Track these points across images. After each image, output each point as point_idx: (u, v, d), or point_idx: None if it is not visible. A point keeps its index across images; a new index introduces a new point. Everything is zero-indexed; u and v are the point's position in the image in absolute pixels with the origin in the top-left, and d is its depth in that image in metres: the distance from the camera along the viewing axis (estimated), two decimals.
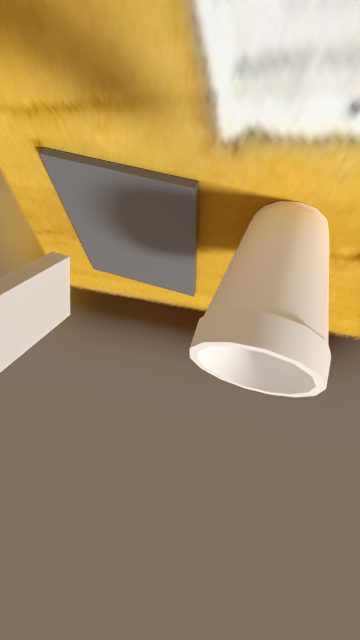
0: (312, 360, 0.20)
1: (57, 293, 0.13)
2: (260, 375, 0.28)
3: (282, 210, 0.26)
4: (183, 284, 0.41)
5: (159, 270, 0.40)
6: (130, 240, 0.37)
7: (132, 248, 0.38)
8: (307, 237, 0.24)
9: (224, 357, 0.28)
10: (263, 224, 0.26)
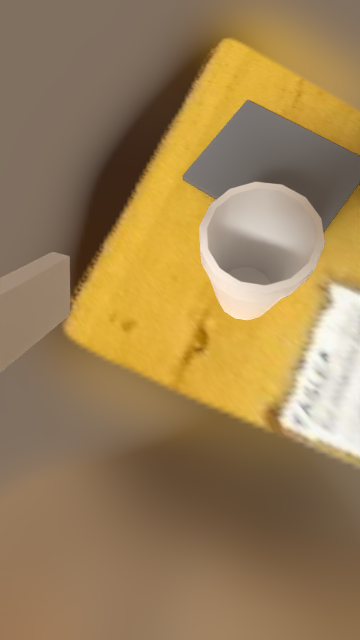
0: (279, 292, 0.25)
1: (57, 293, 0.13)
2: (212, 226, 0.28)
3: None
4: (204, 177, 0.42)
5: (229, 166, 0.42)
6: (274, 167, 0.42)
7: (264, 161, 0.42)
8: None
9: (240, 204, 0.29)
10: None
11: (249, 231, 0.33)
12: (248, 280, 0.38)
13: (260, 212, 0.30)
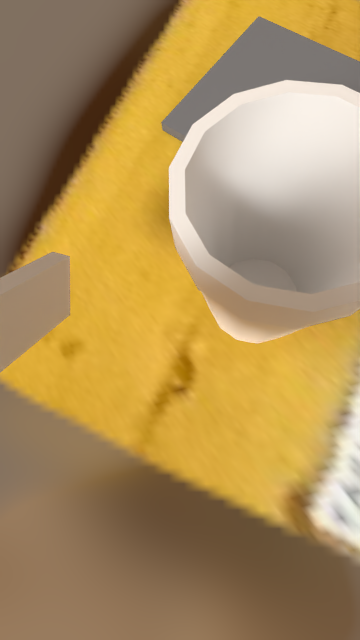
0: (340, 308, 0.11)
1: (57, 293, 0.13)
2: (198, 172, 0.14)
3: None
4: None
5: None
6: None
7: None
8: None
9: (254, 133, 0.15)
10: None
11: (266, 195, 0.19)
12: (259, 280, 0.24)
13: (290, 153, 0.16)
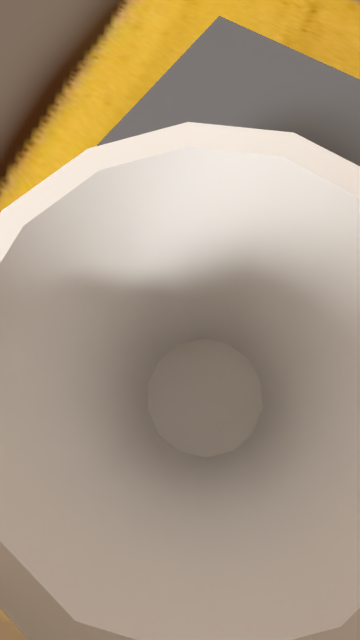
0: None
1: None
2: (31, 292, 0.07)
3: None
4: None
5: None
6: None
7: (249, 125, 0.22)
8: None
9: (146, 211, 0.08)
10: None
11: (199, 281, 0.12)
12: (210, 370, 0.18)
13: (219, 235, 0.09)
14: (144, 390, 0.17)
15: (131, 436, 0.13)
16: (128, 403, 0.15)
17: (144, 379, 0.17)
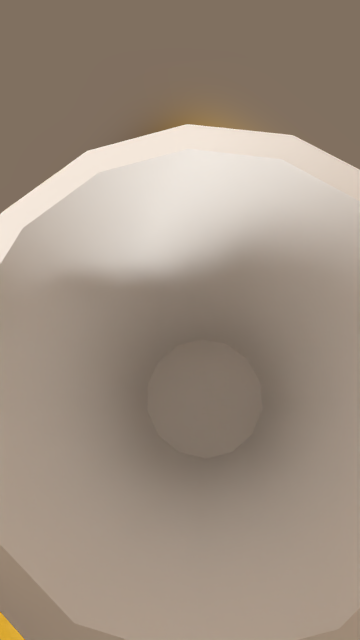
0: None
1: None
2: (30, 294, 0.07)
3: None
4: None
5: None
6: None
7: None
8: None
9: (145, 213, 0.08)
10: None
11: (199, 283, 0.12)
12: (210, 371, 0.18)
13: (218, 237, 0.09)
14: (144, 390, 0.17)
15: (130, 437, 0.13)
16: (128, 403, 0.15)
17: (144, 380, 0.17)
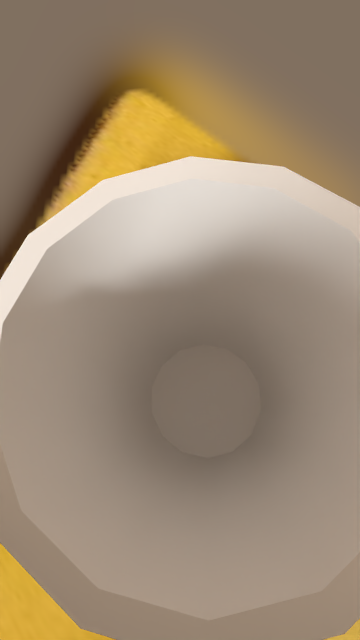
0: None
1: None
2: (51, 306, 0.08)
3: None
4: None
5: None
6: None
7: None
8: None
9: (153, 232, 0.09)
10: None
11: (200, 292, 0.13)
12: (211, 375, 0.19)
13: (219, 252, 0.10)
14: (148, 393, 0.18)
15: (137, 437, 0.14)
16: (134, 405, 0.15)
17: (148, 383, 0.18)
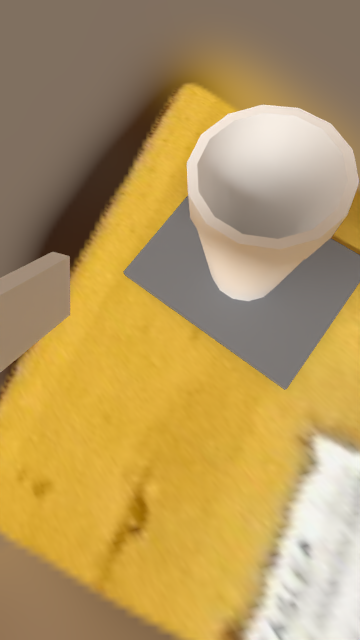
0: (297, 248, 0.18)
1: (57, 293, 0.13)
2: (204, 166, 0.21)
3: None
4: (151, 275, 0.32)
5: (184, 261, 0.32)
6: None
7: None
8: None
9: (242, 139, 0.22)
10: None
11: (252, 184, 0.26)
12: None
13: (267, 153, 0.23)
14: None
15: None
16: None
17: None
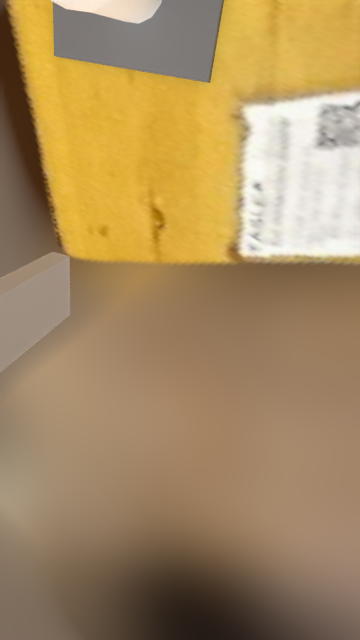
0: None
1: (57, 293, 0.13)
2: None
3: None
4: (73, 44, 0.37)
5: None
6: None
7: None
8: None
9: None
10: None
11: None
12: None
13: None
14: None
15: None
16: None
17: None
